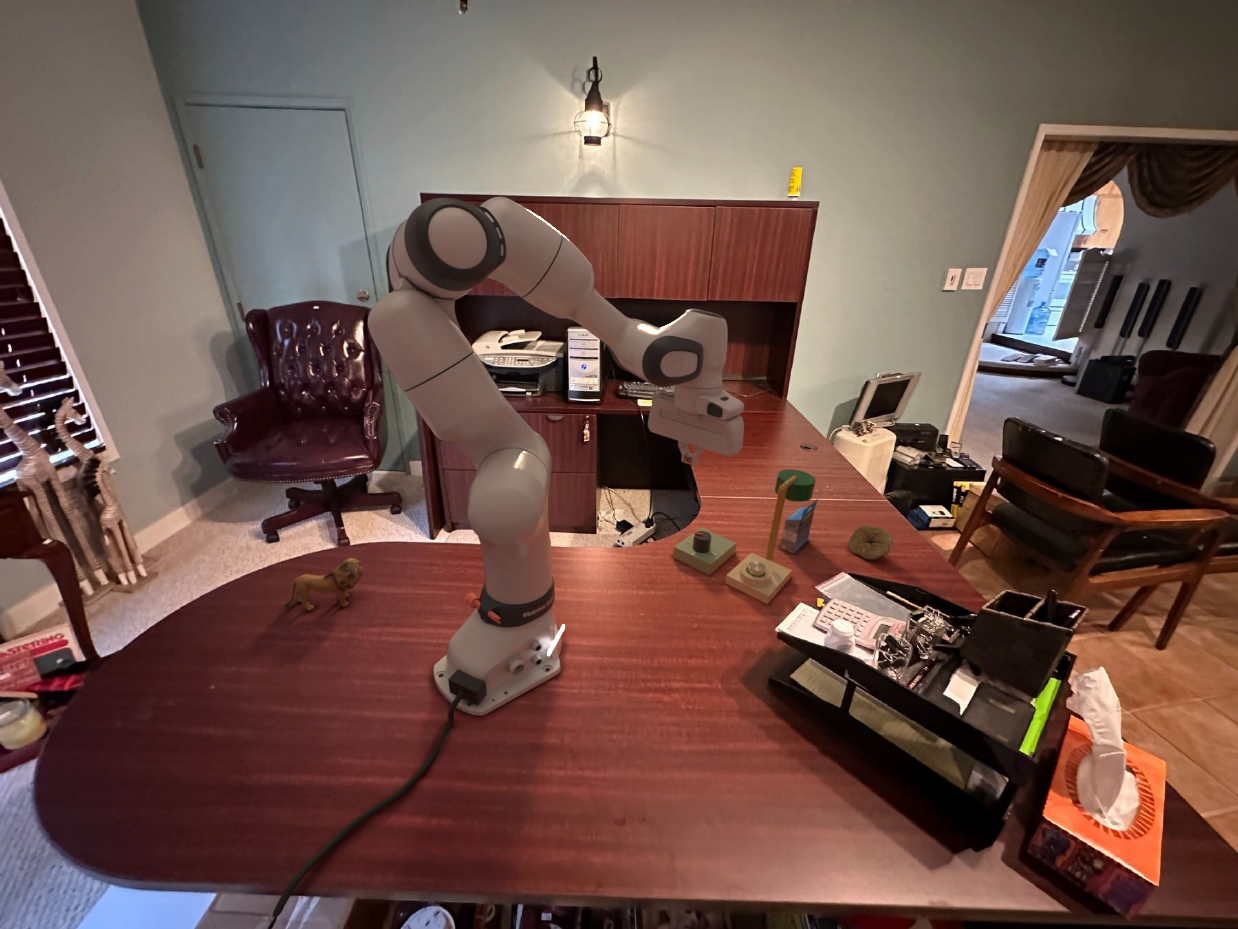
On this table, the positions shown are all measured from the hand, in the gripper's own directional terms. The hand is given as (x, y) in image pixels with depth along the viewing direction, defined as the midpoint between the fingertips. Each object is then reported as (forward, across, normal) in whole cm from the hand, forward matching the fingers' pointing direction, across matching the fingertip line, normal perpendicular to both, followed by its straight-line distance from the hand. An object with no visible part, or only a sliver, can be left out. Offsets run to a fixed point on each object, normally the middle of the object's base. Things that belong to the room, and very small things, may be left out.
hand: (689, 463), depth 100 cm
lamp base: (+27, +15, +10) cm, 33 cm away
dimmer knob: (+24, +1, +8) cm, 25 cm away
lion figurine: (+27, -45, -56) cm, 77 cm away
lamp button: (+24, +15, +7) cm, 29 cm away
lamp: (+23, +15, +19) cm, 33 cm away
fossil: (+27, +30, +39) cm, 56 cm away
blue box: (+27, +15, +30) cm, 43 cm away
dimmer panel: (+27, +1, +10) cm, 29 cm away
